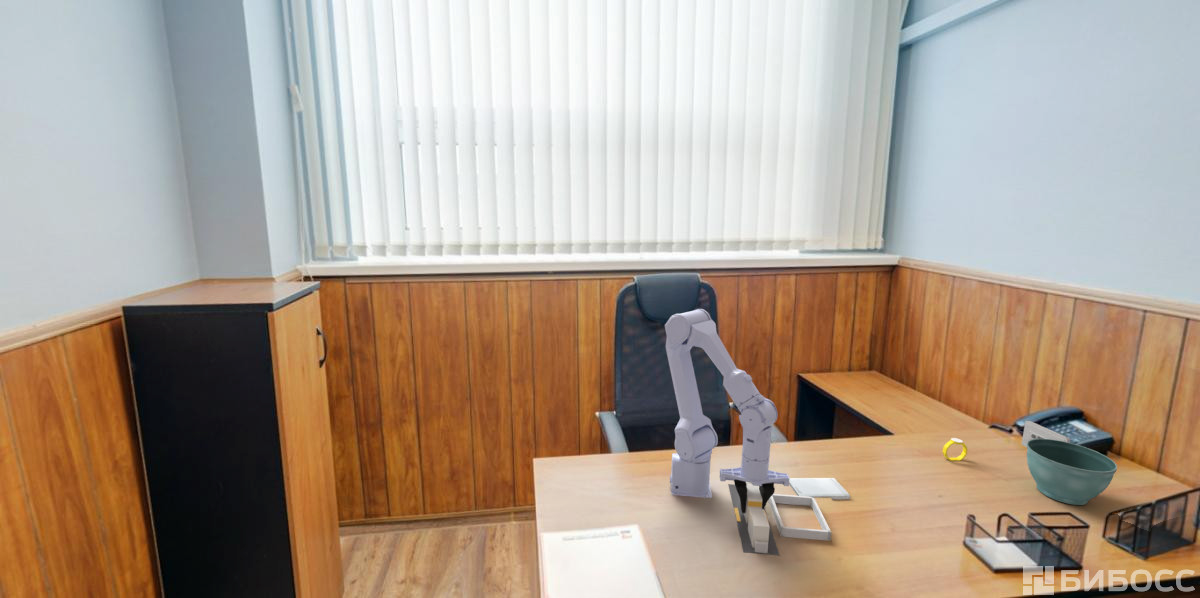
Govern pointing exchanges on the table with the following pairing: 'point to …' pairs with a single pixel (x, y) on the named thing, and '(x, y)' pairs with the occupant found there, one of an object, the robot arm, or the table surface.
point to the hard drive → (818, 487)
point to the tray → (800, 532)
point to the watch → (959, 442)
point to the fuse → (758, 526)
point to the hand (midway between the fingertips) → (751, 511)
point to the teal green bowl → (1068, 470)
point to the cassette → (1040, 433)
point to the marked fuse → (752, 500)
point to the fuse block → (760, 547)
